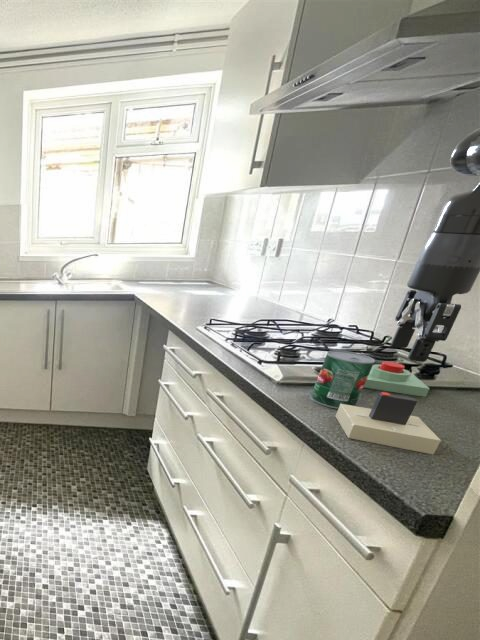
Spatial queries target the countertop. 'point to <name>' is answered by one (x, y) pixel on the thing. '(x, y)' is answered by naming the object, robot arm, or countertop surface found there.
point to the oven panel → (386, 430)
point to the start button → (392, 367)
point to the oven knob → (392, 408)
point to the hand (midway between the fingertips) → (406, 353)
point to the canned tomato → (341, 378)
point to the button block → (395, 382)
